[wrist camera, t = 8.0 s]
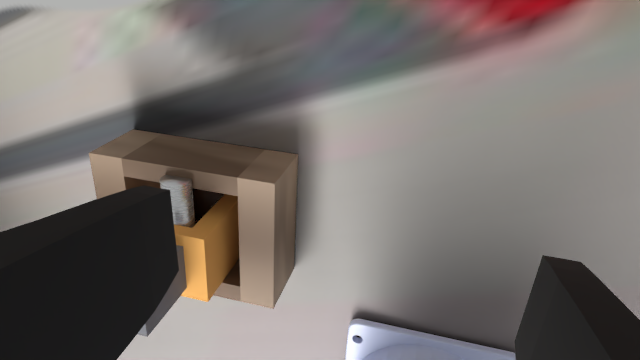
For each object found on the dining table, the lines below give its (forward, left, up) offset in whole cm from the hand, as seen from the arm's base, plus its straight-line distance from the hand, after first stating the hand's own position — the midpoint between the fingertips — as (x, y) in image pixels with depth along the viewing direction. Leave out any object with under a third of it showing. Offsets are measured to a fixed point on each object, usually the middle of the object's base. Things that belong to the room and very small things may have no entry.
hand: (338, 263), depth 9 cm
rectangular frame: (-5, +8, -10) cm, 14 cm away
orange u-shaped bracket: (-6, +8, -10) cm, 14 cm away
